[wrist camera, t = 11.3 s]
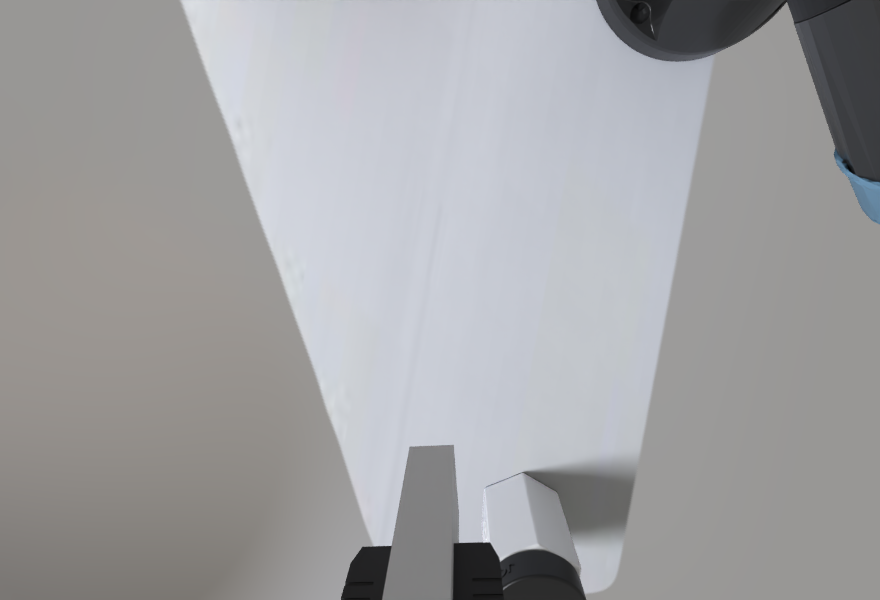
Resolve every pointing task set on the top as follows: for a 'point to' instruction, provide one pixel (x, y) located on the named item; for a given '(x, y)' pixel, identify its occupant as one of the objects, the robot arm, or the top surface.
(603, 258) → the top surface
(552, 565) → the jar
